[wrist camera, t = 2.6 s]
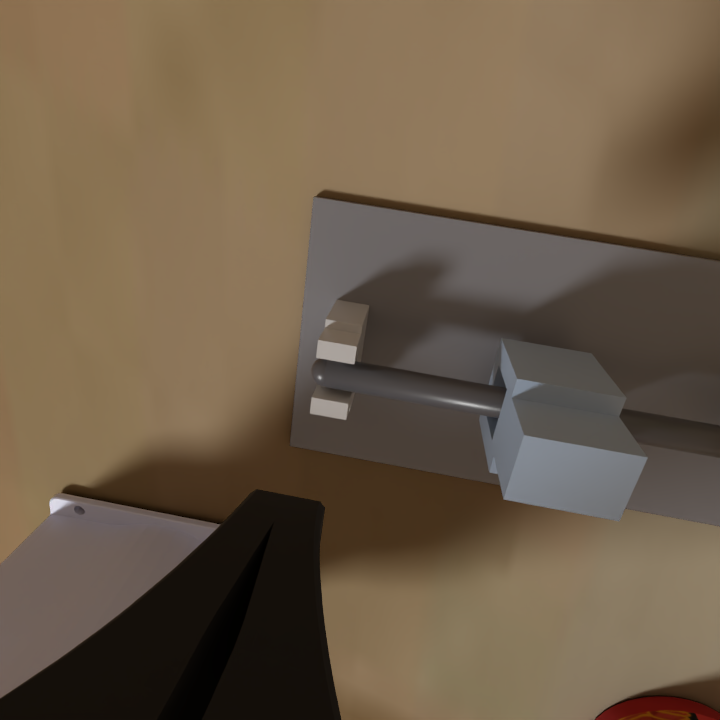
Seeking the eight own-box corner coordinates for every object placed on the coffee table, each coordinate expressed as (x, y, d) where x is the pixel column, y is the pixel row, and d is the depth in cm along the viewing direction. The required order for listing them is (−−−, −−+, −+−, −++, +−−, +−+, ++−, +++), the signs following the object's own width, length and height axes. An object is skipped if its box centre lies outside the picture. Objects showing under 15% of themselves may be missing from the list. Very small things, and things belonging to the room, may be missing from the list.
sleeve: (479, 419, 18) (497, 517, 13) (501, 337, 17) (531, 414, 12) (562, 434, 18) (611, 538, 13) (591, 353, 17) (657, 437, 12)
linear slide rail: (291, 441, 21) (261, 507, 17) (315, 195, 17) (283, 211, 13) (805, 538, 20) (894, 630, 16) (961, 299, 16) (1130, 348, 12)
